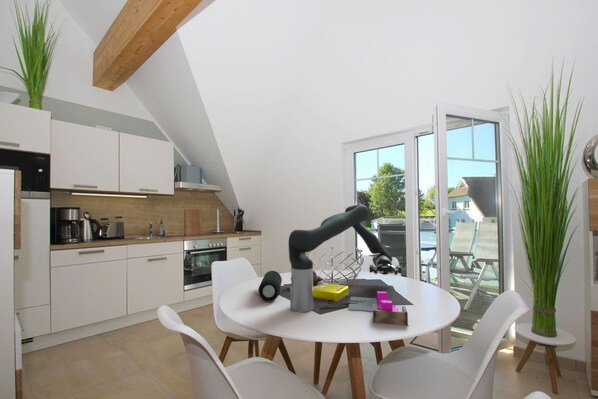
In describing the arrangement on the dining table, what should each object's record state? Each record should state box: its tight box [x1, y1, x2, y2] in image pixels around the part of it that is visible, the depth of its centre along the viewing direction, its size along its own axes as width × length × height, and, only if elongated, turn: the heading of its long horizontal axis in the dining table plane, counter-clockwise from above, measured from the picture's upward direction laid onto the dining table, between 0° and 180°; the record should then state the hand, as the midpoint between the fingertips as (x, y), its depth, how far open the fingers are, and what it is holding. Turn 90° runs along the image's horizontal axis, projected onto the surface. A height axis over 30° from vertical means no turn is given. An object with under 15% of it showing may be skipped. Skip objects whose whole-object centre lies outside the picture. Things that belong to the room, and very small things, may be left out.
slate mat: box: [347, 296, 378, 313], centre depth 129 cm, size 12×18×1 cm, turn 167°
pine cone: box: [313, 270, 324, 287], centre depth 158 cm, size 18×10×10 cm, turn 83°
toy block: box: [376, 290, 400, 311], centre depth 115 cm, size 15×6×8 cm, turn 171°
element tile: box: [313, 282, 349, 302], centre depth 143 cm, size 15×15×5 cm
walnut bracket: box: [372, 304, 409, 326], centre depth 110 cm, size 12×8×4 cm, turn 77°
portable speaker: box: [257, 270, 283, 302], centre depth 145 cm, size 26×10×10 cm, turn 1°
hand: (385, 272), depth 130 cm, fingers open, 8 cm apart
